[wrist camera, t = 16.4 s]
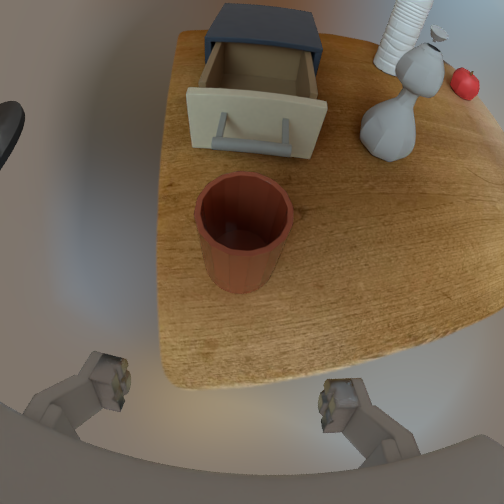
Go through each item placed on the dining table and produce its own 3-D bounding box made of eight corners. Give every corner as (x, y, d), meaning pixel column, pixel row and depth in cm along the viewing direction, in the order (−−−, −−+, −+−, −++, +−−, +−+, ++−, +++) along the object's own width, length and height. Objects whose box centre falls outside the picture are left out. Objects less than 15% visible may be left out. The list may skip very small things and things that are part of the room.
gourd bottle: (367, 120, 37) (417, 8, 18) (410, 152, 35) (476, 46, 17) (343, 143, 34) (399, 9, 16) (391, 180, 32) (473, 56, 14)
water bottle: (367, 57, 46) (400, -37, 23) (391, 62, 47) (426, -25, 24) (386, 80, 43) (429, -23, 20) (411, 85, 44) (455, -9, 21)
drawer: (311, 193, 29) (333, 142, 22) (183, 180, 29) (172, 126, 22) (304, 86, 37) (314, 43, 30) (214, 76, 37) (214, 33, 30)
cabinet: (308, 103, 37) (323, 49, 28) (206, 93, 36) (204, 36, 27) (302, 54, 43) (311, 12, 34) (223, 46, 43) (224, 3, 34)
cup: (201, 290, 25) (187, 250, 17) (210, 226, 28) (203, 167, 20) (272, 297, 26) (292, 260, 17) (275, 233, 28) (293, 176, 20)
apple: (443, 78, 49) (455, 56, 42) (466, 92, 49) (479, 71, 41) (450, 94, 46) (465, 70, 38) (475, 109, 46) (490, 87, 38)
